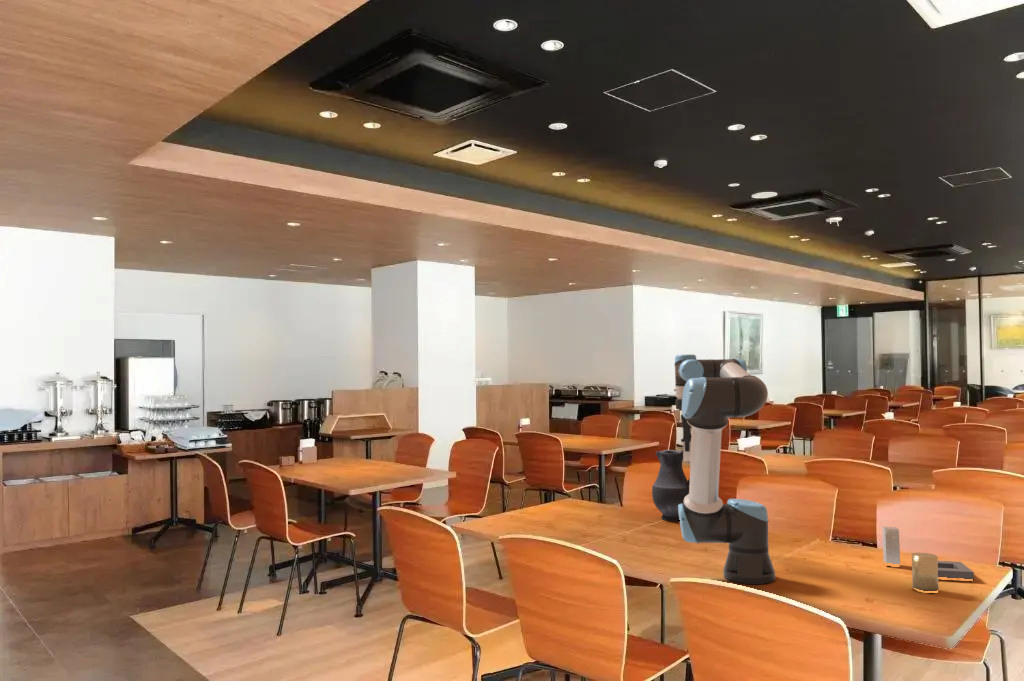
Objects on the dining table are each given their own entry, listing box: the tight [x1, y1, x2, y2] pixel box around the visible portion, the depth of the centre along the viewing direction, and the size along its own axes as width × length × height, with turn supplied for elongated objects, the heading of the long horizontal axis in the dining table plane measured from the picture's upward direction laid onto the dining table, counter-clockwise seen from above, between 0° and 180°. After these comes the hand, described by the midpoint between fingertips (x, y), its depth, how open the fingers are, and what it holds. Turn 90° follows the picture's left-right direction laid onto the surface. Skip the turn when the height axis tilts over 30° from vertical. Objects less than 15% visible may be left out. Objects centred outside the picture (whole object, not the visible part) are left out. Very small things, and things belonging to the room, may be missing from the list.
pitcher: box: [651, 449, 690, 522], centre depth 319 cm, size 17×21×30 cm
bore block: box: [938, 560, 975, 580], centre depth 229 cm, size 12×12×3 cm
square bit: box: [882, 526, 901, 565], centre depth 242 cm, size 4×4×12 cm
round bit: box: [911, 552, 940, 591], centre depth 215 cm, size 6×6×10 cm
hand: (687, 458), depth 264 cm, fingers open, 13 cm apart
